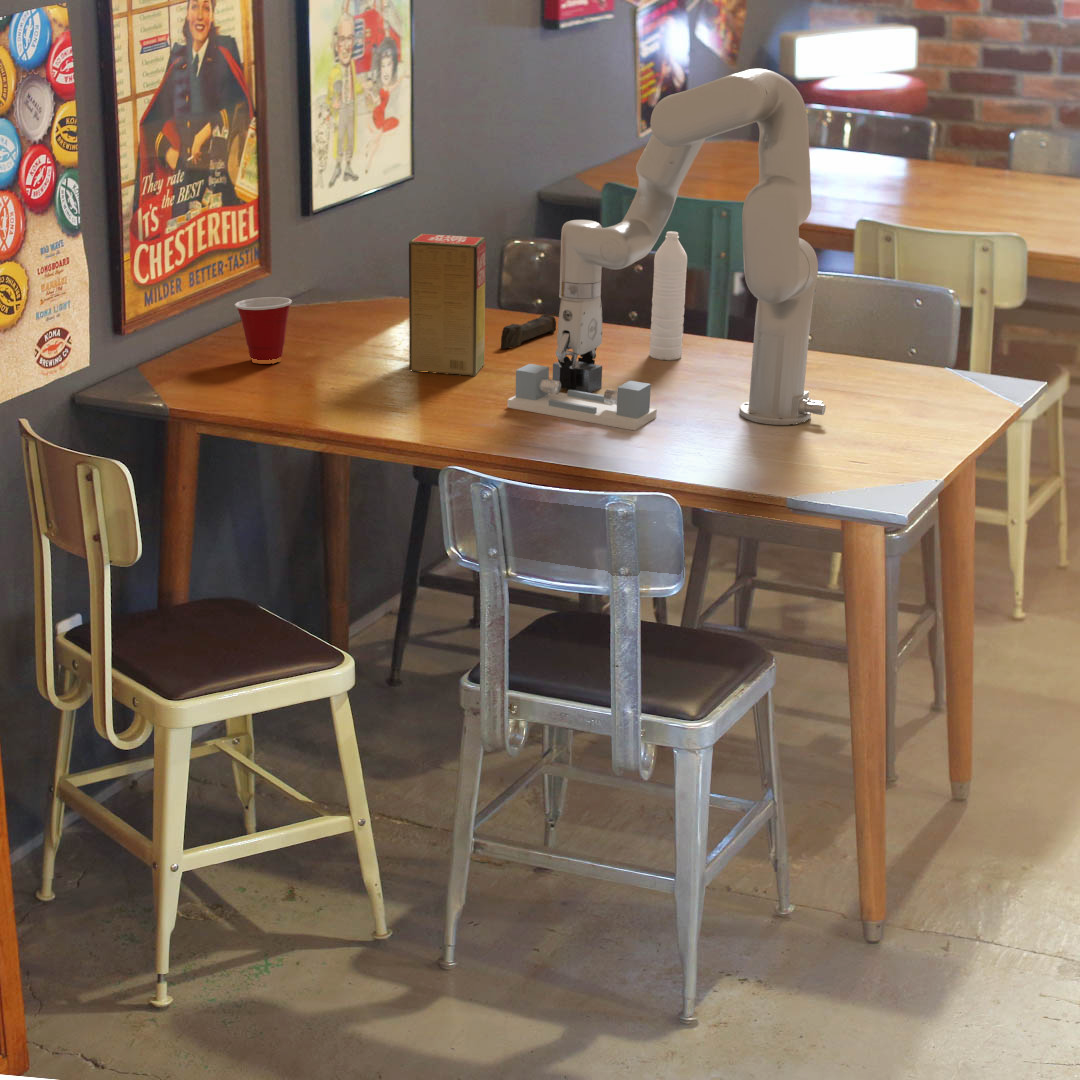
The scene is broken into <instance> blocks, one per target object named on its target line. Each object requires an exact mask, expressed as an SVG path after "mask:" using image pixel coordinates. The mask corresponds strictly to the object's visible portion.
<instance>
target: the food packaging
mask: <svg viewBox="0 0 1080 1080" xmlns="http://www.w3.org/2000/svg"><path fill="white" fill-rule="evenodd" d="M486 251H487V238H486V237H484V236H464V235H449V234H448V235H446V234H429V233H419V234H418V235H416V236H415V237H413V238H412V239H411V240H410V241H409V242H408V298H409V299H408V300H409V301H408V303H409V304H408V305H409V307H408V308H409V309H408V310H409V321H408V323H409V331H408V332H409V333H408V334H409V336H408V337H409V342H408V343H409V347H408V348H409V352H408V353H409V356H408V357H409V363H408V364H409V365H408V366H409V367H408V368H409V370H412V371H428V372H436V373H448V374H459V375H458V376H461V375H470V376H469V377H476V376H477V374H478V373H479V372H480V371H481V369H482V368H483V367H484V366H485V345H486V344H485V339H486V338H485V337H486V331H485V330H486V329H485V328H486V326H485V325H486V324H485V323H486V271H487V270H486V265H487V264H486V263H487V261H486V258H487V257H486V256H487V255H486V254H487V252H486ZM482 366H483V367H482ZM448 374H447V375H448Z"/></svg>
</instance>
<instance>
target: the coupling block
mask: <svg viewBox="0 0 1080 1080" xmlns="http://www.w3.org/2000/svg"><path fill="white" fill-rule="evenodd" d="M569 359H570V358H569ZM570 361H571V359H570ZM575 369H577V380H576V389H575V391H581V392H587V393H594V392H596V391H598V390H601V389H602V380H603V378H602V377H603V365H599V364H591V363H586V362H581V361H578V360H576V365H575ZM552 380H555V381H560V367H559V361H558V360H557V362H553V363H552Z"/></svg>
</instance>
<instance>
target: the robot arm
mask: <svg viewBox="0 0 1080 1080" xmlns="http://www.w3.org/2000/svg"><path fill="white" fill-rule="evenodd" d="M754 123H757V125H758V129H759V135H758V136H759V137H758V138H759V139H758V149H757V153H758V155H757V156H758V172H759V173H758V183H757V184H756V185H755V186H753V188H751V189H750V190H749V192H748V193H747V195H746V197H745V200H744V203H743V206H742V207H743V208H742V212H741V213H742V214H741V218H742V219H741V222H742V223H741V225H742V227H741V228H742V250H743V251H742V253H743V255H742V256H743V271H744V278H745V279H744V280H745V283H746V286H747V288H748V290H749V291H750V294H752V295H753V297H755V299H757V303H756V312H755V319H754V321H755V322H754V334H753V345H752V347H753V348H752V360H751V372H750V387H749V395H748V397H749V399H748V401H745V402H743V403H741V404H740V405H739V414H740V416H741V417H743V418H744V419H746V420H748V421H751V422H754V423H759V424H766V425H773V426H791V425H790V424H793V425H797V424H796V423H799V424H801V423H800V422H803V423H805V422H804V421H806V420H808V419H809V418H810V419H811V416H812V414H813V415H817V416H818V415H819V416H824V415H825V413H826V407H827V406H826V404H824V401H822V400H813V399H811V398H810V396H809V395H810V391H809V390H805V383H806V374H807V373H806V372H807V363H808V362H807V360H808V350H809V342H810V341H809V339H810V331H811V322H812V321H811V320H812V310H813V304H814V296H815V292H816V287H817V280H818V276H819V275H818V272H819V262H818V257H817V255H816V251H815V249H814V248H813V246H811V243H809V242H808V241H806V240H805V239H803V238H801V237H800V231H799V230H800V229H799V228H800V226H801V225H802V224H803V223H804V222H806V220H808V217H809V215H810V214H811V210H812V202H813V201H812V199H813V198H812V189H811V187H812V186H811V181H812V180H811V158H810V157H811V156H810V143H809V140H810V138H809V137H810V136H809V135H810V134H809V119H808V111H807V108H806V104H805V101H804V99H803V97H802V95H801V93H800V91H799V90H798V88H797V87H796V86H795V85H794V84H793V83H792V82H791V81H790V80H789V79H788V78H786V77H784V76H783V75H781V74H779V73H777V72H775V71H773V70H768V69H766V68H765V69H764V68H749V69H746V70H742V71H740V72H736V73H731V74H729V75H726V76H723V77H720V78H718V79H715V80H712V81H710V82H706V83H703V84H701V85H698V86H696V87H693V88H689V89H687V90H684V91H680V92H677V93H673V94H669V95H667V96H665V97H663V98H662V99H661V100H659V101H658V103H657V104H656V105H655V106H654V108H653V110H652V112H651V117H650V123H649V124H650V129H651V133H652V135H651V136H650V138H649V140H648V142H647V144H646V146H645V148H644V149H643V152H642V154H641V155H640V157H639V159H638V161H637V162H636V165H635V172H636V175H637V178H638V184H637V185H638V187H637V190H636V192H635V195H634V197H633V200H632V202H631V204H630V206H629V208H628V210H627V212H626V214H625V216H624V217H623V219H622V220H621V221H620V222H619V223H617V224H616V223H615V224H614V225H611V226H607V227H603V226H602V225H601V224H600V223H599V222H597V221H594V220H590V219H573V220H569V221H566V222H565V223H564V224H563V225H562V227H561V234H560V235H561V236H560V264H559V265H560V266H559V270H560V271H559V296H558V297H559V298H560V304H559V311H558V312H559V313H558V321H557V322H558V323H557V335H556V336H557V337H556V338H557V339H556V341H557V342H556V343H557V344H556V345H557V348H556V351H555V355H556V358H557V362H558V361H559V367H560V382H561V389H565V390H575V389H576V380H577V369H575V365H576V361H581V362H586V363H591V364H595V361H596V360H595V359H596V358H597V352H596V351H597V348H599V347H600V346H601V345H602V342H603V309H602V300H601V294H602V290H601V288H602V268H605V269H608V270H609V269H610V270H622V269H625V268H627V267H629V266H631V265H633V264H634V263H635V262H638V261H641V260H642V259H643V258H645V257H647V256H648V254H650V252H651V251H652V249H653V248H654V246H655V244H656V243H657V241H658V240H659V237H660V235H661V234H662V232H663V230H664V228H665V227H666V225H667V223H668V221H669V219H670V217H671V214H672V211H673V209H674V206H675V204H676V200H677V198H678V195H679V191H680V187H681V186H682V184H683V183H684V180H685V178H686V176H687V175H688V173H689V170H690V168H691V166H692V165H693V163H694V161H695V159H696V157H697V155H699V154H698V153H699V152H700V150H701V148H702V146H703V145H704V143H705V140H706V139H709V138H712V137H714V136H718V135H720V134H723V133H726V132H729V131H733V130H736V129H739V128H743V127H745V126H748V125H751V124H754ZM570 350H572V351H570ZM569 356H571V361H570V357H569ZM578 356H579V357H578ZM810 419H809V420H810ZM809 420H808V421H809ZM806 422H807V421H806Z"/></svg>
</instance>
